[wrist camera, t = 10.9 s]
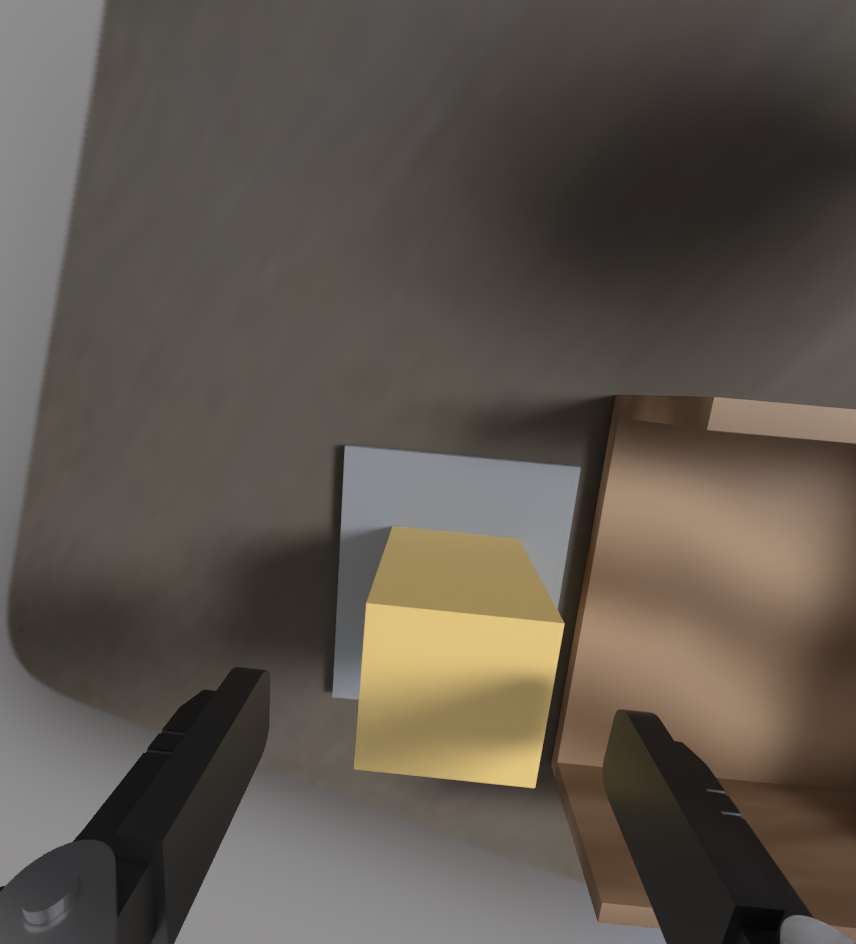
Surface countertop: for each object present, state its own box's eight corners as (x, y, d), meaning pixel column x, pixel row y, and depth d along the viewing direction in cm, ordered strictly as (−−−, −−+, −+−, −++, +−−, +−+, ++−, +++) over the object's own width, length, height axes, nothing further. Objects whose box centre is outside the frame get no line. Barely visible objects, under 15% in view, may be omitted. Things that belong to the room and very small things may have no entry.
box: (615, 394, 15) (714, 396, 10) (1013, 430, 15) (1336, 453, 10) (551, 765, 19) (597, 922, 13) (878, 797, 18) (1064, 969, 13)
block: (392, 525, 16) (366, 603, 10) (518, 538, 16) (564, 623, 10) (383, 639, 17) (353, 769, 11) (501, 651, 17) (535, 788, 11)
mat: (347, 444, 16) (345, 446, 16) (577, 465, 16) (580, 467, 16) (334, 690, 18) (332, 697, 18) (537, 710, 18) (539, 717, 18)
